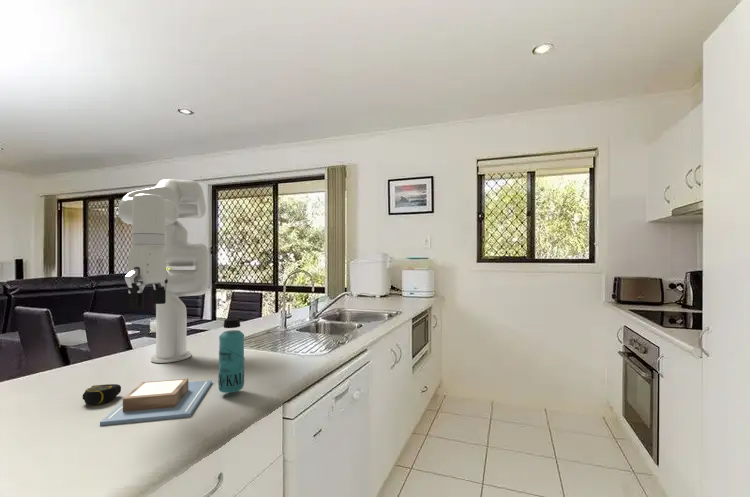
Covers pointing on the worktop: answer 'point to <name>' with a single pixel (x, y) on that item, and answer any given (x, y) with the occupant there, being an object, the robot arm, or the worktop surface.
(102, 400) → the tape measure
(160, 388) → the board
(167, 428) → the worktop surface
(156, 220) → the robot arm
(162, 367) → the worktop surface
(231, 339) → the beverage bottle
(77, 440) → the worktop surface
